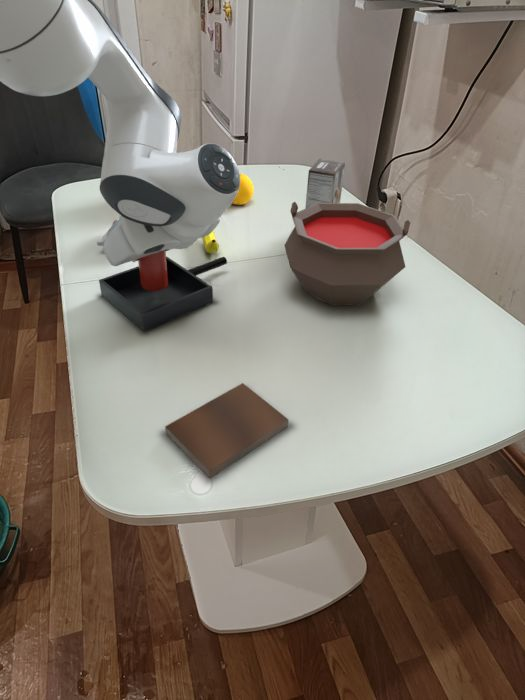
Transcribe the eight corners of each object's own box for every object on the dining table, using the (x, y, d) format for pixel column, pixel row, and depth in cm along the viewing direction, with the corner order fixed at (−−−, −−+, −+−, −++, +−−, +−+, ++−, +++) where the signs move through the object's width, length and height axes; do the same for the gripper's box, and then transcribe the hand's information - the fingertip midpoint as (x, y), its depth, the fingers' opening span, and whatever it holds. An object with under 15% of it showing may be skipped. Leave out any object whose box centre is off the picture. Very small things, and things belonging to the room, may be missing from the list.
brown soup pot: (264, 305, 98) (268, 225, 87) (296, 251, 116) (303, 179, 106) (390, 332, 92) (410, 250, 82) (403, 270, 110) (421, 197, 100)
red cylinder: (150, 294, 93) (144, 238, 86) (135, 283, 96) (129, 228, 89) (173, 285, 96) (169, 230, 89) (158, 274, 98) (153, 221, 92)
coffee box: (312, 222, 128) (319, 157, 118) (337, 227, 127) (346, 161, 117) (301, 237, 121) (308, 169, 111) (327, 242, 120) (336, 174, 110)
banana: (210, 228, 123) (210, 203, 119) (221, 267, 108) (221, 239, 105) (198, 229, 122) (197, 204, 119) (207, 268, 108) (207, 240, 104)
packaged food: (98, 254, 111) (94, 233, 108) (115, 230, 120) (112, 210, 117) (137, 257, 110) (135, 236, 107) (151, 233, 120) (150, 214, 117)
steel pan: (144, 332, 89) (141, 315, 87) (101, 295, 98) (98, 279, 96) (248, 287, 103) (248, 271, 100) (202, 258, 111) (202, 243, 109)
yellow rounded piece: (219, 205, 134) (218, 177, 130) (229, 194, 140) (229, 167, 136) (248, 209, 133) (248, 181, 128) (257, 199, 139) (258, 171, 134)
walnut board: (209, 478, 65) (209, 471, 64) (165, 433, 71) (165, 426, 70) (287, 426, 73) (288, 419, 72) (242, 390, 79) (242, 382, 78)
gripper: (220, 186, 86) (188, 221, 98) (110, 216, 75) (89, 252, 86) (236, 220, 86) (203, 251, 98) (130, 255, 75) (106, 285, 87)
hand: (149, 252), depth 92 cm, fingers closed on red cylinder, 5 cm apart
